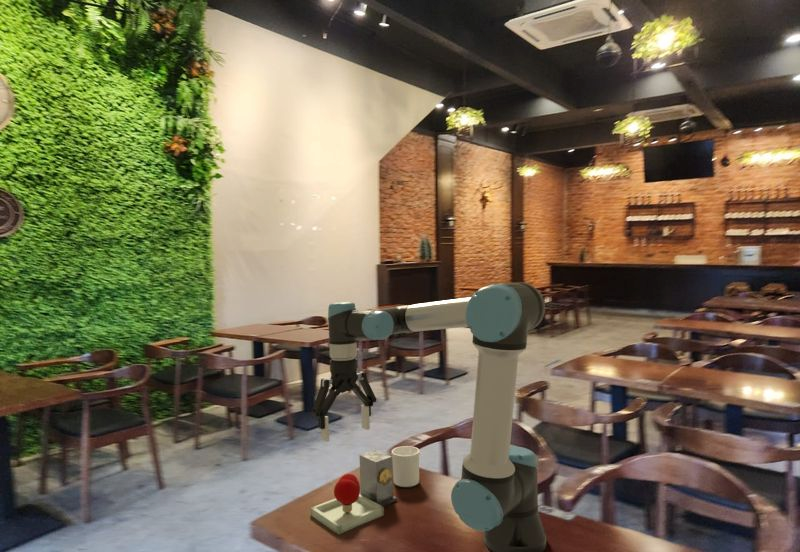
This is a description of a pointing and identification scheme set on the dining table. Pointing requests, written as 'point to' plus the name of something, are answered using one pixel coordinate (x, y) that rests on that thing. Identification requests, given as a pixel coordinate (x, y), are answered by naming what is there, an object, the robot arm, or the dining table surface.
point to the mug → (406, 466)
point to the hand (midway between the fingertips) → (346, 434)
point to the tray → (343, 522)
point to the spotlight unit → (377, 477)
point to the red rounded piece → (347, 491)
